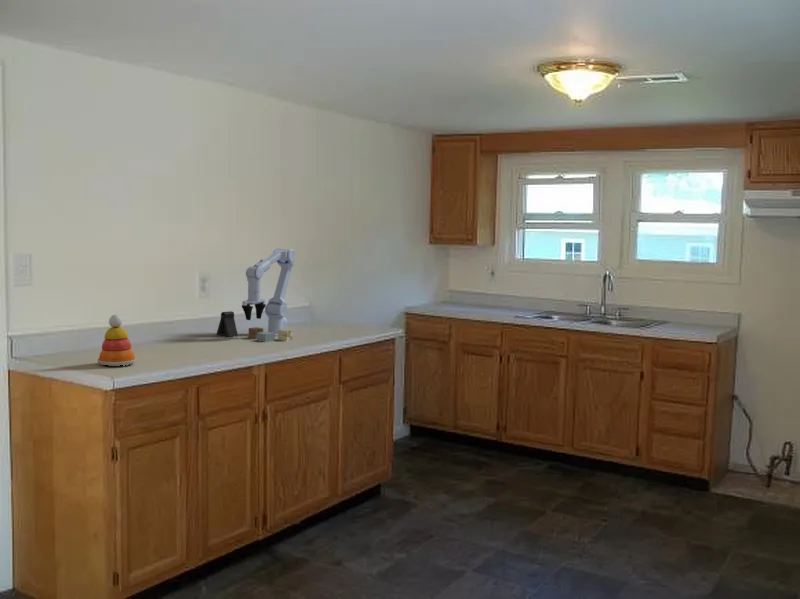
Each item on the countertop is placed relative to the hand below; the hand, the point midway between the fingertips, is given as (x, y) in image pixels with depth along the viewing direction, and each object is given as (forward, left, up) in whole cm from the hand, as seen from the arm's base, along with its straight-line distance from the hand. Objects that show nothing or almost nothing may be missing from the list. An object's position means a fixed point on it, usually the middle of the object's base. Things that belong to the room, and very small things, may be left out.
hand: (253, 319), depth 390 cm
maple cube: (-8, +13, -10) cm, 18 cm away
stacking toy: (+88, +18, -10) cm, 90 cm away
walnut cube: (-1, 0, -10) cm, 10 cm away
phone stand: (+5, -14, -10) cm, 17 cm away
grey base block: (+1, +9, -10) cm, 13 cm away
